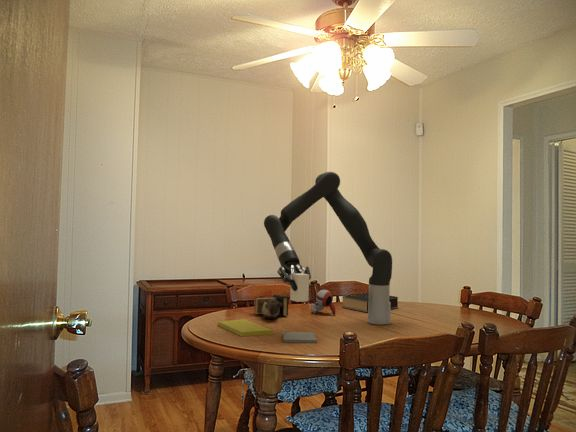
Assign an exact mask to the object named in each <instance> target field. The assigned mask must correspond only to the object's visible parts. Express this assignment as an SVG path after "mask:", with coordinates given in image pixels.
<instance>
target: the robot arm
mask: <svg viewBox="0 0 576 432" xmlns="http://www.w3.org/2000/svg"><path fill="white" fill-rule="evenodd" d="M340 185H341V178H340V176H339V175H338V174H337V173H336V172H334V171H326V172H325V171H324V173H321V174H319V175H317V177H316V178H315V184H314V185H313V186H312V187H310V189H308V190H307V191H305V192H303V193H302V194H301V195H299V196H297V197H296V198H295V199H293V200H291V201H290V202H289V203H288V204H287V205H286V206H284V207H283V208H282V209H281V210H280V216H279V217H278V216H277V215H275V214H269V215H267V216H266V217H265V218H264V220H263V226H264V228H265V229H264V230H266V232H267V234H268V236H269V238H270V241H271V244H272V246H273V249H274V251H275V255H276V258H277V259H278V262H279V264H280V266H279V268H278V270H276V271H277V274H278V275H279V277H280V279H281V280H282V281H283V283H285V284H286V283H288V284H289V285H290V288H291V287H292V289H293V290H294V291H296V290H297V289H298V287H297V285H296V282H295V280H294V278H293V274H296V273H301V274H308V275H309V281H310V280H311V278H312V275H311V270H310V267H309V266H305V267H303V266H302V265H301V262H300V259H299V256H298V254H297V252H296V250H295V248H294V246H293V244H292V243H291V241H290V239H289V237H288V234H287V233H286V231H287V230H288V229H289V228H290V226H291V224H292V223H293V222H294V221H295V220H296V219H298V218H299V217H300V216H301V215H302V214H304V213H305V212H306V211H308V209H310V208H311V207H312V206H313V205H315V204H316V203H317V202H318V201H320V200H321V199H322V198H324V199H325V200H326V202H327V203H328V204H329V206H330V207H331V209H332V210H333V212H334V213H335V215H336V216H337V218H338V219H339V221H340V222H341V224H342V226H343V227H344V229H345V230H346V232H347V233H348V234H349V236H350V237H351V238H352V239H353V241H354V242H355V244H356V245H357V247H358V248H359V250H360V251H361V253H362V255H363V257H364V259H365V260H366V262H367V264H368V265H369V266H370V267H371V268H372V274H371V276H370V277H369V278H368V293H369V303H368V312H367V314H368V315H367V323H369V324H372V325H380V326H381V325H390V324H391V312H392V311H391V310H392V309H391V303H390V302H389V296H390V284H391V279H392V274H393V257H392V254H391V252H390V251H388V250H387V249H384V248H379V246H378V245H377V244H376V242H375V241H374V240H373V238H372V236H371V235H370V231H369V228H368V224H367V222H366V220H365V219H364V217H363V216H362V214H361V213H360V211H359V210H358V209H357V207H355V205H353V204H352V203H351V202H350V201H349V200H348V199H346V198H345V197H344V196H343V195H342V193H341V192H340V190H339V187H340ZM310 289H311V285H310V283H309V290H310Z"/></svg>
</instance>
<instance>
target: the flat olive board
mask: <svg viewBox="0 0 576 432" xmlns="http://www.w3.org/2000/svg"><path fill="white" fill-rule="evenodd" d="M217 326H218V327H219V328H220V327H221V329H225V330H227V331H229V332H231V333H233V334H236V335H237V336H240V337H252V336H254V337H255V336H270V335H273V329H270V328H268V327H265V326H263V325H260V324H257V323H255V322H252V321H250V320H247V319H244V318H240V319H231V320H221V321H217Z"/></svg>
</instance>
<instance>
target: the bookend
mask: <svg viewBox="0 0 576 432" xmlns="http://www.w3.org/2000/svg"><path fill="white" fill-rule="evenodd" d="M253 303H254V314H255V315H262V317H263V318H264V319H267V320H273V319H276V318H277V317H278V316H281V317H284V316H286V317H288V316H289V296H287V295H282V294H273V296H272V297H264V296H262V295H259V297H256V298H255V299H253Z"/></svg>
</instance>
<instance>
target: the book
mask: <svg viewBox="0 0 576 432" xmlns="http://www.w3.org/2000/svg"><path fill="white" fill-rule="evenodd" d="M398 298H399V297H398V296H394V295H389V302H390V303H391V310H392V309H398V304H399V303H398V300H399V299H398ZM368 303H369V292H368V293H361V294H351V295H349V294H348V295H342V306H341V307H342V308H345V309H348V310H352V311H353V310H355V311H359V312H363V313H368Z"/></svg>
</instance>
